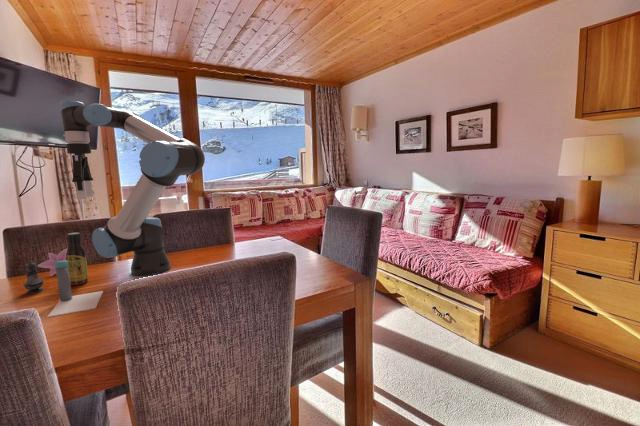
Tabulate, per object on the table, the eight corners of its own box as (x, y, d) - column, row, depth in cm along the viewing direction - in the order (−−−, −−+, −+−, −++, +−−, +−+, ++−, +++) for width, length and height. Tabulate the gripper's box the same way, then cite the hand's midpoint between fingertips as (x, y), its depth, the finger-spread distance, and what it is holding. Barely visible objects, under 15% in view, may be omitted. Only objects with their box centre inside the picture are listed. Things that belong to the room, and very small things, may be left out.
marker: (68, 297, 111) (63, 260, 110) (74, 297, 109) (69, 260, 109) (57, 300, 107) (52, 262, 107) (63, 301, 106) (58, 262, 106)
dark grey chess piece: (21, 295, 114) (16, 263, 112) (27, 290, 119) (21, 259, 118) (43, 292, 117) (37, 260, 115) (47, 287, 122) (42, 256, 120)
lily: (35, 279, 135) (32, 262, 130) (54, 261, 145) (52, 244, 141) (66, 285, 137) (65, 268, 133) (83, 267, 148) (82, 251, 143)
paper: (103, 291, 116) (103, 290, 116) (95, 308, 101) (95, 307, 101) (62, 298, 110) (61, 297, 110) (47, 317, 96) (47, 316, 96)
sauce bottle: (65, 286, 122) (57, 235, 119) (76, 280, 128) (68, 232, 125) (83, 285, 123) (75, 234, 120) (93, 279, 129) (86, 231, 126)
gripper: (73, 145, 134) (81, 196, 137) (56, 140, 111) (66, 201, 115) (95, 145, 137) (102, 195, 140) (83, 140, 115) (91, 199, 118)
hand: (85, 198), depth 127 cm, fingers open, 13 cm apart
